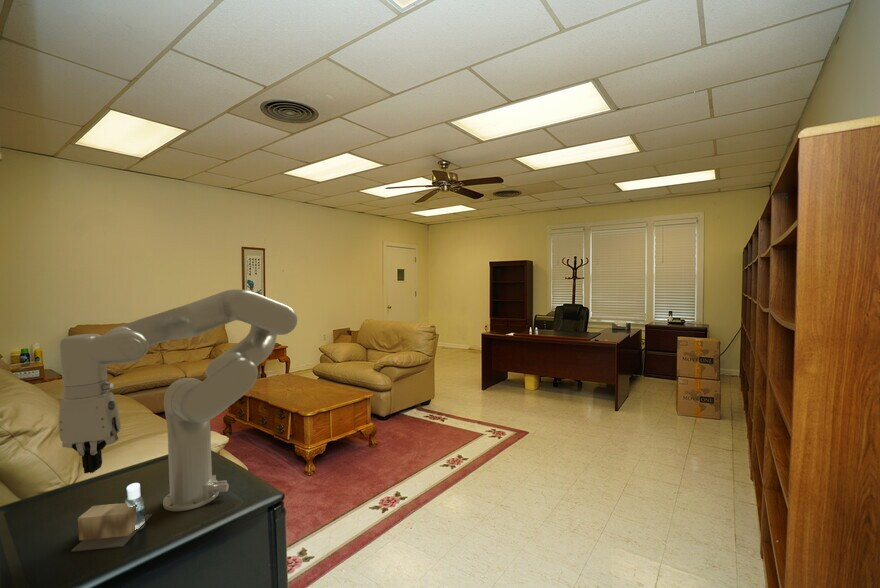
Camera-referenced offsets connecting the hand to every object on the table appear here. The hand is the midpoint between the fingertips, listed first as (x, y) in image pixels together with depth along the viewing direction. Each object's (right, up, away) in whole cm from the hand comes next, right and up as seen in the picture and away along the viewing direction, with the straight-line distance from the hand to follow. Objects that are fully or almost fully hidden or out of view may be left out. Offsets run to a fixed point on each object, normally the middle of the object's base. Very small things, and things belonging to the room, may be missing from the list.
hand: (93, 470), depth 94 cm
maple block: (-1, -12, 0) cm, 12 cm away
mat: (+4, -14, +1) cm, 15 cm away
